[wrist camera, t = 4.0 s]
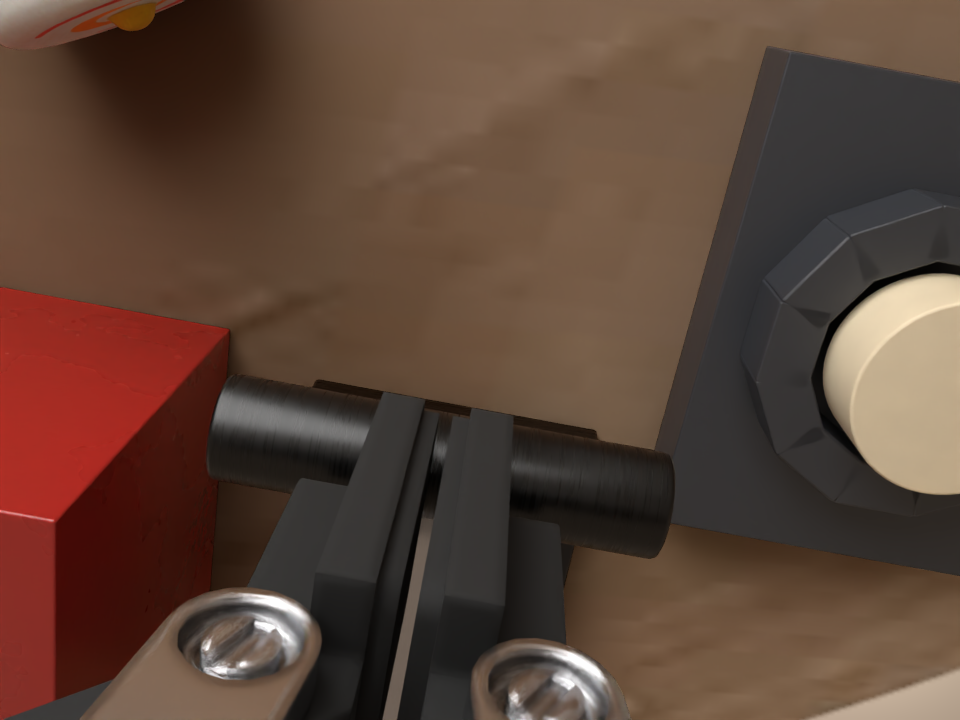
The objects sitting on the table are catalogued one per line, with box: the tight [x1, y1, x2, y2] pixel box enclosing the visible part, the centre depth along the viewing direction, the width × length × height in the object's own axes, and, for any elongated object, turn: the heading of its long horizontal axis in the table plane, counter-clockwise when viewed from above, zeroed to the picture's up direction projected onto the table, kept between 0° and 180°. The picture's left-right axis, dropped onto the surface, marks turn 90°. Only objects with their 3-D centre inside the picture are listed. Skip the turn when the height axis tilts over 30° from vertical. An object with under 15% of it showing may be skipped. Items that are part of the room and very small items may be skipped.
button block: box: [655, 46, 960, 576], centre depth 22 cm, size 12×9×4 cm
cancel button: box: [823, 273, 960, 495], centre depth 20 cm, size 4×4×2 cm
